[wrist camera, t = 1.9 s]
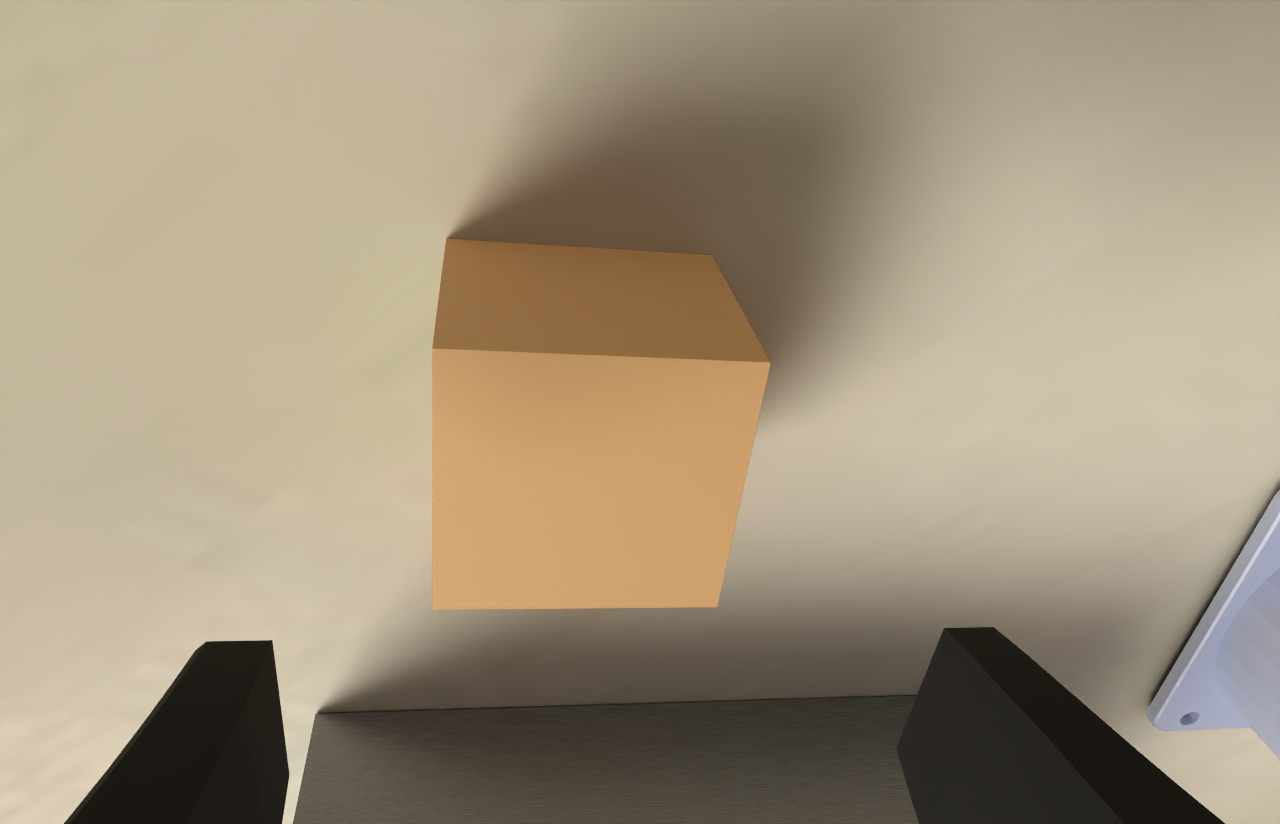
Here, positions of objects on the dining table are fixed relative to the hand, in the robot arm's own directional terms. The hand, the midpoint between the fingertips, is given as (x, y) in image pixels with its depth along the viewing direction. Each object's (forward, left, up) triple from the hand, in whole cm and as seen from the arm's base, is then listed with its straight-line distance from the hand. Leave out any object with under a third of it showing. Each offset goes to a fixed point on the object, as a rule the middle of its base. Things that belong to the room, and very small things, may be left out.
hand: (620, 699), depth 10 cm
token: (0, 0, -8) cm, 8 cm away
